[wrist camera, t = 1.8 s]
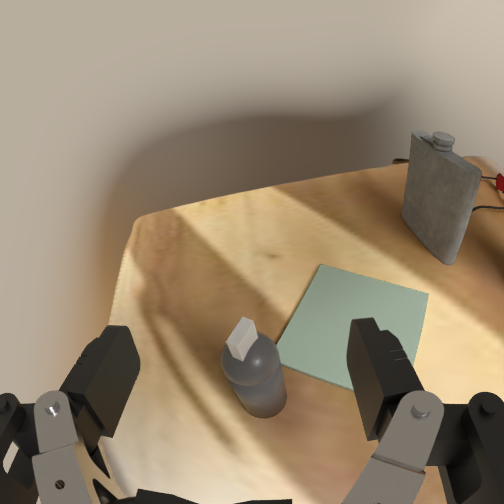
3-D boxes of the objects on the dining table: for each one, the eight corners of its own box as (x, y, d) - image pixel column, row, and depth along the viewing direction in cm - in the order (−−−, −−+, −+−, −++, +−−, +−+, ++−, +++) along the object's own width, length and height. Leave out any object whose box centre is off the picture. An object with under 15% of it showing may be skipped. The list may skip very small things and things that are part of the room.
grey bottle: (256, 372, 37) (229, 296, 26) (294, 388, 35) (286, 316, 24) (234, 406, 34) (193, 344, 23) (273, 425, 32) (252, 372, 21)
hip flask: (457, 262, 44) (489, 158, 30) (441, 268, 44) (473, 160, 30) (410, 209, 56) (422, 116, 42) (394, 214, 55) (405, 117, 42)
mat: (320, 266, 49) (320, 264, 48) (427, 296, 40) (428, 293, 40) (269, 360, 38) (268, 358, 38) (400, 405, 30) (401, 404, 30)
